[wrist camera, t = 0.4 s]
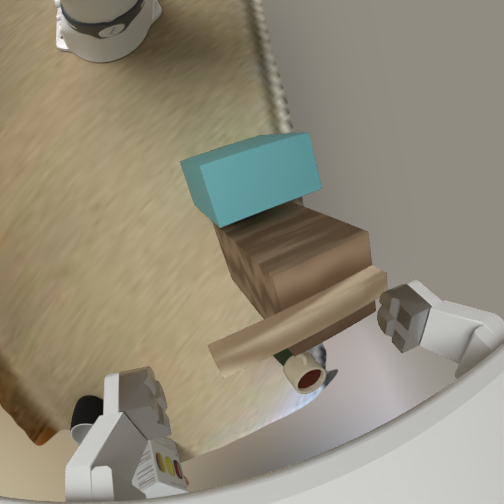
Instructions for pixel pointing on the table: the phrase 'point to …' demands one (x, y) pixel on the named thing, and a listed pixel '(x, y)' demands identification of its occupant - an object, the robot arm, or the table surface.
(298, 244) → the pillar
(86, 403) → the mug
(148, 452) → the supplement box
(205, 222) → the table surface
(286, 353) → the character mug
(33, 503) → the robot arm
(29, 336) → the table surface
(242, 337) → the baton
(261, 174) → the teal rectangular block
